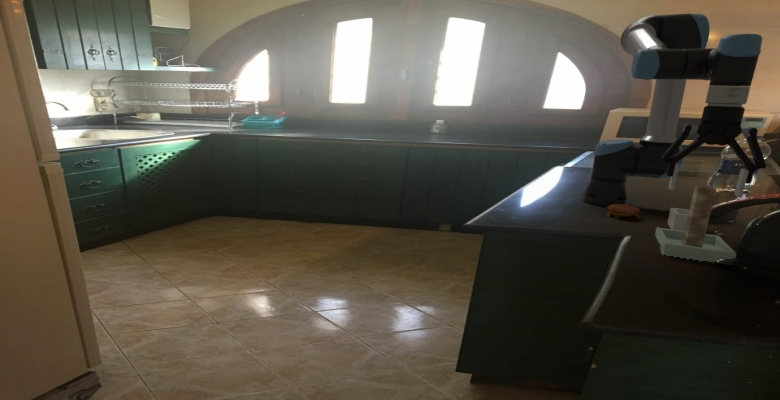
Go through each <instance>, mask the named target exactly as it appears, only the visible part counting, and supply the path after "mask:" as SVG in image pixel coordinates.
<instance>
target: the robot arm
mask: <svg viewBox="0 0 780 400" xmlns="http://www.w3.org/2000/svg"><path fill="white" fill-rule="evenodd" d="M710 30H711V29H710V21H709V20H708V17H707V16H706V15H705V14H702V13H677V14H675V13H674V14H652V15H648V16H644V17H643V16H642V17H640V18H638V19H637V20H635V21H633V22H631V23H630V24H629V25H628V26H626V27H625V29H624V30H623V31H622V34H621V36H620V46H621V48H622V49H623V51H624V52H625V53H627V54H628V55H631V56H632V63H631V70H630V71H631V77H632V78H633V79H636V80H638V79H639V80H646V81H649V80H655V84H654V89H653V94H652V100H651V106H650V109H649V114H648V115H649V116H648V119H647V120H648V122H647V126H646V127H647V128H646V132H645V134H644V135H643V136H642V137H640V139H639V142H638V144H636V143H634V140H632V139H622V138H620V139H607V140H603V141H600V142H598V143H597V144H596V145H595V150H594V153H593V163H592V169H591V175H590V181H589V182H588V184H587V185H586V188H585V189H584V192H583V194H582V198H581V199H582V201H584V202H585V203H588V204H591V205H595V206H596V205H597V206H601V207H606V206H607V205H608V206H610V205H613V204H624V205H629V204H628V203H629V195H628V188H627V185H626V184H627V178H628V177H633V178H634V177H637V178H649V179H656V180H658V179H665V180H666V179H667V180H668V179H669V182H668V187H667V188H668V190H670V191H675V186H676V182H677V178H678V174H679V171H680V169H681V166H682V163H683V160H684V158H685V157H686V156H688V155H690V154H691V153H692V152H693V151H695V150H696V149H697V148H699V147H700V146H703V145H704V144H706V145H709V146H713V145H714V146H715V145H717V146H724V147H725V146H728V147H730V149H731V150H732V152H733V153H734V154H735V155H736V157H737V158H738V160H739V161H740V162H741V163H742V165H743V166H744V167H745V168H740V170H739V171H740V172H739V174H738V178H737V182H736V185H735V190H734V192H733V193H734V194H733V195H734V196H736V197H737V198H742V197H743V194H744V191H745V186H746V184H748V185H750V183H751V182H752V180H753V176H754V172H755V171H757V170H759V169H762V170H763V169H766V168H767V163H766V160H765V158H764V154H763V152H762V149H761V146H760V143H759V141H758V138H757V137H758V131H759V130H758V128H756V127H753V126H749V127H746V128H745V127H744V128H742V127H741V126H742V122H743V119H744V118H743V117H744V114H745V110H746V108H745V107H744V106H743V105H746V104H748V103H747V102H748V98H749V94H750V90H751V86H752V82H753V79H754V74H755V73H756V67H757V65H758V61H759V58H760V57H759V56H760V54H761V52H762V50H761V49H762V48H761V47H762V43H763V37H762V35H761V34H757V33H738V34H737V33H736V34H729V35H724V36H722V37H721V38H720V40H719V43H718V45H717V47H715V48H706V47H707V45H708V43H709V39H710ZM687 80H690V81H693V80H694V81H695V80H698V81H701V80H702V81H709V85H708V89H707V94H706V98H705V100H704V101H705V104H707V105H705V106H704V107H703V111H702V115H701V119H700V123H699V124H698V125H697V126H695V125H691V124H688V123H686V124H684V125H683V127H682V130H681V132H680V134H679V135H677V137H676V133H677V129H678V123H679V118H680V113H681V109H682V105H683V99H684V95H685V89H686V83H687ZM694 132H696V133H697V134H698V137H696V138H695V139H694V140H693V141H692V142H690V143H689V144H688V145H686V146H685V147H684V148H683V147H682V146H681V145H682V144H683V143H684V142H685V141H686V139H687V138H688V137H689V135H693V133H694ZM741 134H742V136H743V137H745V139H746V142H747V145H748V148H749V150H750V153H751V155H752V158H753V162H754V163H753V162H752V160H751V158H749V157H748V154H746V152H745V151H744V150H743V149H742V147H741V146H740V143H739V142H738V141H737V140H736V138H738V137H739V136H740V135H741Z"/></svg>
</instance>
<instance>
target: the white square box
mask: <svg viewBox="0 0 780 400" xmlns="http://www.w3.org/2000/svg"><path fill="white" fill-rule="evenodd" d="M669 210H670V211H669V214H668V218H667V219H668V220H667V225H668V226H669V229H672V230H680V231H685V227H686V223H687V218H688V214H689V210H690V209H685V208H677V207H670V209H669Z"/></svg>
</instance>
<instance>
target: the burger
mask: <svg viewBox="0 0 780 400" xmlns="http://www.w3.org/2000/svg"><path fill="white" fill-rule="evenodd" d="M640 213H641V209H639V208H638V207H636V206H633V205H629V204H628V205H624V204H613V205H608V207H607V212H606V214H605V215H606V218H608V219H609V217H612V218H614V219H618V220H624V221H639V220H640V215H639V214H640Z"/></svg>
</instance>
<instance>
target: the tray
mask: <svg viewBox="0 0 780 400" xmlns="http://www.w3.org/2000/svg"><path fill="white" fill-rule="evenodd" d="M684 232H685V231H680V230H672V229H671V228H664V227H663V228H662V227H657V226H656V228H655V232H654V236H655V238H656V239H657V240H656V241H658V244H657V246H658V248H659V250H660V252H661V254H662V256H664V255H666V256H665V257H670V256H673V257H672V258H676V257H680V258H679V259H683V258H686V259H685V260H689V259H693V260H692V261H695V260H699V261H698V262H702V261H709V262H715V261H717V260H720V259H732V258H735V259H736V258H737V253H736V251H734V250H733V249H732V248H731V247H730V246H729V244H727V243H726V242H725V241H724V239H722V238H721V236H720V235H715V234H707V233H706V234H705V238H704V242H703V246H702V248H701V247H694V246H688V245H683V244H682V240H683V236H684Z"/></svg>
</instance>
